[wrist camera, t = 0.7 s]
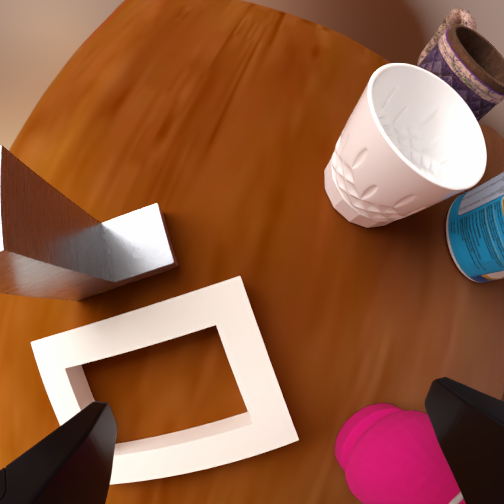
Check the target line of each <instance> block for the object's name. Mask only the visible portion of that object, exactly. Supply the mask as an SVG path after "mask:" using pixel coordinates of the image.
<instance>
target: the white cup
mask: <svg viewBox="0 0 504 504" xmlns="http://www.w3.org/2000/svg"><path fill="white" fill-rule="evenodd" d="M486 161H487V152H486V145H485V141H484V137H483V134H482V131H481V128H480V126H479V124H478V122H477V120H476V118H475V116H474V114H473V113H472V111H471V110H470V108H469V107H468V105H467V104H466V103H465V101H464V100H463V99H462V98H461V97H460V95H459V94H458V93H457V92H456V91H455V90H454V89H453V88H452V87H450V86H449V85H448V84H447V83H446V82H444V81H443V80H442V79H440V78H439V77H437V76H436V75H434V74H432V73H431V72H429V71H427V70H425V69H422V68H420V67H417V66H414V65H410V64H404V63H392V64H387V65H384V66H382V67H380V68H379V69H377V70H376V71H375V72H374V73H373V75H372V76H371V78H370V80H369V82H368V84H367V86H366V88H365V90H364V92H363V93H362V95H361V97H360V99H359V101H358V103H357V105H356V107H355V109H354V111H353V112H352V114H351V116H350V118H349V119H348V121H347V123H346V126H345V128H344V130H343V132H342V133H341V135H340V138H339V140H338V142H337V144H336V146H335V151H334V153H333V155H332V157H331V159H330V161H329V163H328V164H327V166H326V168H325V171H324V174H325V191H326V193H327V195H328V197H329V199H330V201H331V203H332V205H333V207H334V208H335V209H336V210H337V211H338V212H339V213H340V214H341V215H342V216H343V217H344V218H346V219H347V220H348V221H349V222H352V223H354V224H357V225H360V226H363V227H366V228H370V227H377V226H384V225H387V224H389V223H391V222H393V221H395V220H399V219H402V218H405V217H407V216H409V215H411V214H414V213H417V212H419V211H422V210H424V209H426V208H428V207H430V206H433V205H435V204H437V203H439V202H441V201H443V200H445V199H448V198H450V197H452V196H454V195H456V194H458V193H460V192H463V191H465V190H467V189H469V188H471V187H473V186H474V185H476V184H477V183H478V182H479V181H480V179H481V178H482V176H483V174H484V171H485V168H486Z"/></svg>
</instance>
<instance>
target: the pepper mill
mask: <svg viewBox="0 0 504 504" xmlns="http://www.w3.org/2000/svg"><path fill="white" fill-rule="evenodd" d="M335 456H336V459H337V461H338V463H339V465H340V466H341V467H342V469H343V470H344V471H345V477H346V482H347V485H348V487H349V489H350V491H351V492H352V493H353V494H354V495H355V496H356V498H357V499H358V500H360V501H361V502H362V503H363V504H466V503H465V501H464V498H463V496H462V494H461V492H460V489H459V487H458V485H457V482H456V480H455V478H454V476H453V474H452V471H451V469H450V467H449V465H448V463H447V461H446V459H445V456H444V454H443V452H442V450H441V448H440V446H439V443H438V440H437V438H436V435H435V432H434V429H433V427H432V424H431V421H430V418H429V416H428V414H426V413H424V412H420V411H411V410H407V411H404V410H402V409H400V408H398V407H396V406H394V405H391V404H386V403H378V404H374V405H370V406H367V407H365V408H363V409H361V410H360V411H358V412H357V413H355V414H354V415H353V416H352V417H351V418H350V419H348V420H347V421H346V422H345V424H344V425H343V427H342V428H341V430H340V432H339V434H338V436H337V439H336V443H335Z"/></svg>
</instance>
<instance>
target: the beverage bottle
mask: <svg viewBox="0 0 504 504" xmlns="http://www.w3.org/2000/svg"><path fill="white" fill-rule="evenodd" d="M446 237H447V243H448V247H449V250H450V253H451V256H452V258H453V260H454V262H455V264H456V266H457V267H458V269H459V270H460V271H461V272H462V273H463V274H464V275H465V276H466V277H467V278H469V279H470V280H472V281H475V282H479V283H484V282H490V281H494V280H498V279H502V278H504V172H503V173H501V174H499V175H497V176H496V177H494V178H492V179H490V180H489V181H487V182H485V183H483V184H482V185H480V186H478V187H476V188H475V189H473V190H471V191H468V192H466V193H464V194H462V195H460V196H459V197H457V198H456V199H455V200H454V201H453V203H452V204H451V206H450V208H449V211H448V214H447V220H446Z"/></svg>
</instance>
